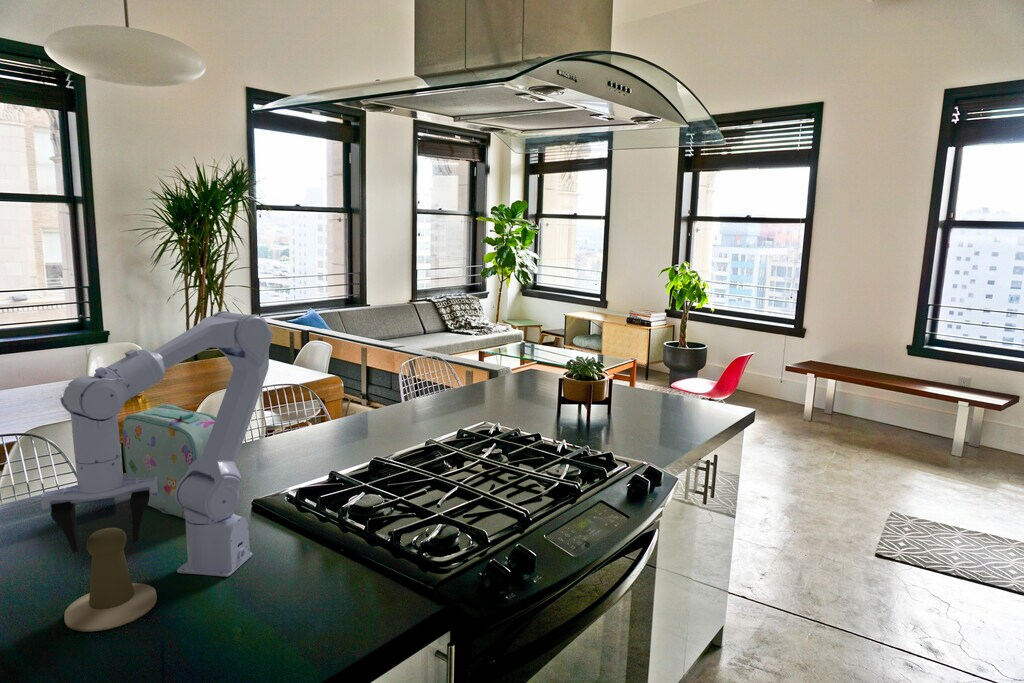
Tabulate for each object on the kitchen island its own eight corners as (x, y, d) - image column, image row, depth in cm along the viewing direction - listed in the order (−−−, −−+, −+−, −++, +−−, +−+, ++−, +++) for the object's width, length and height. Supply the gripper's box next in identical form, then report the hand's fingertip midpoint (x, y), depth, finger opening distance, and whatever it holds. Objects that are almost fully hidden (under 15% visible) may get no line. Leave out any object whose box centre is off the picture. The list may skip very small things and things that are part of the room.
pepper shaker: (123, 584, 106) (117, 519, 104) (141, 596, 102) (136, 529, 101) (81, 600, 101) (74, 533, 99) (99, 613, 98) (93, 544, 96)
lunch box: (246, 511, 136) (241, 410, 133) (202, 530, 127) (195, 423, 124) (167, 486, 149) (160, 394, 146) (121, 502, 140) (113, 404, 137)
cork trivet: (173, 590, 106) (173, 586, 105) (120, 634, 94) (119, 629, 94) (105, 584, 107) (104, 580, 107) (44, 627, 95) (43, 622, 95)
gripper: (154, 443, 104) (161, 524, 106) (42, 456, 97) (52, 543, 99) (154, 456, 97) (160, 542, 99) (34, 471, 91) (44, 563, 93)
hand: (106, 544), depth 99 cm, fingers open, 7 cm apart
